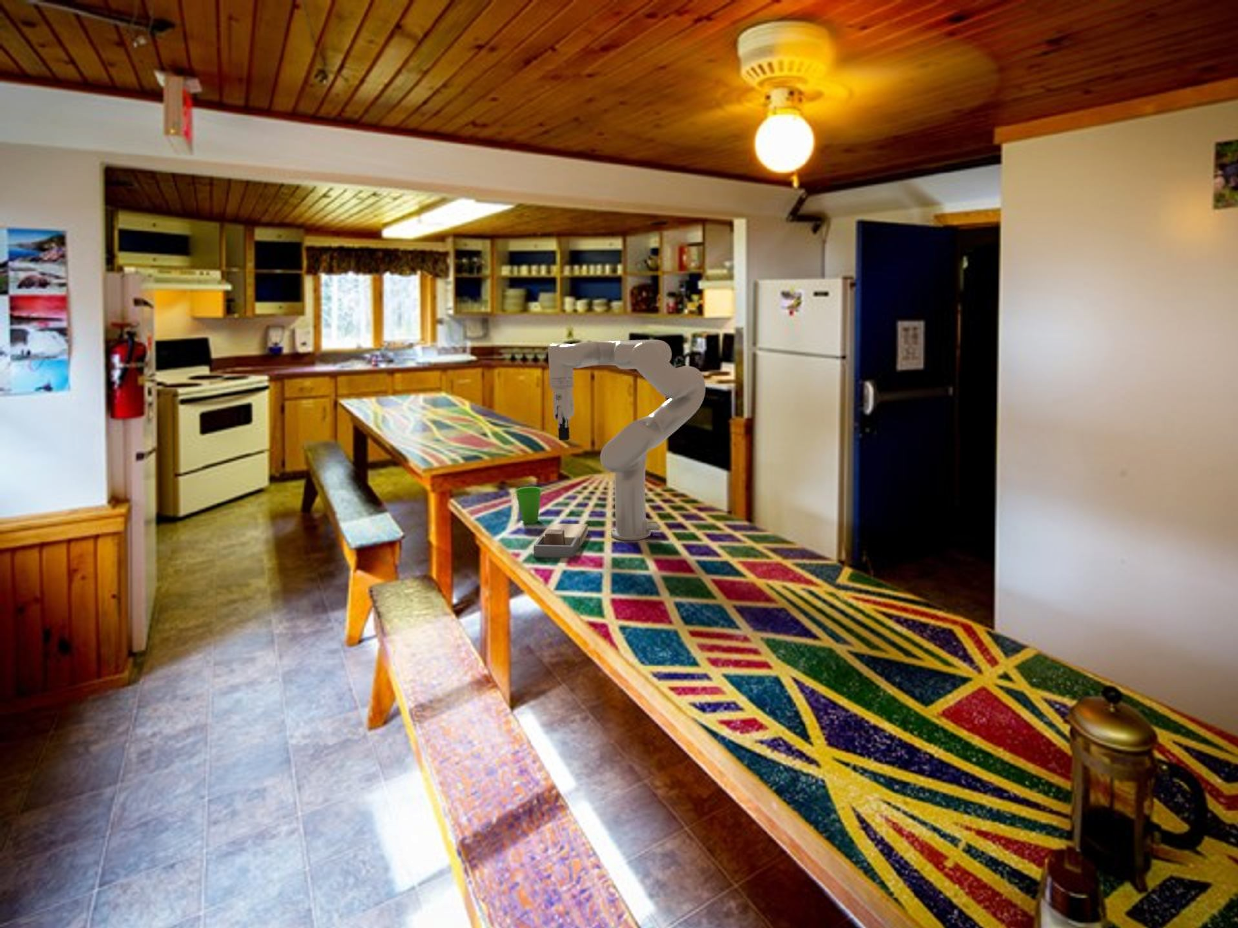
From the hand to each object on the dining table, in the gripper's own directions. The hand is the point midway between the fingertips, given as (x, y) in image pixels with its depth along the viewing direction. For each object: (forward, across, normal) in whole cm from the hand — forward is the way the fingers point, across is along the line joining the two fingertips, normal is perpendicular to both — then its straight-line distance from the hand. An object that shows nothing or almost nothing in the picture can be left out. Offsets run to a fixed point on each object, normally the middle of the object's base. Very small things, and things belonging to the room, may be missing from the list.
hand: (564, 439), depth 232 cm
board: (+29, -14, -2) cm, 32 cm away
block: (+26, -21, -1) cm, 34 cm away
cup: (+29, +4, +14) cm, 33 cm away
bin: (+29, -25, -2) cm, 39 cm away
